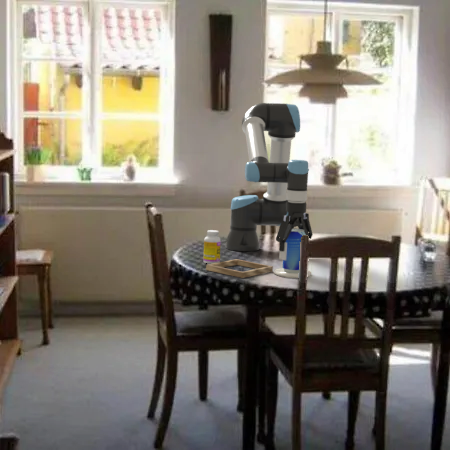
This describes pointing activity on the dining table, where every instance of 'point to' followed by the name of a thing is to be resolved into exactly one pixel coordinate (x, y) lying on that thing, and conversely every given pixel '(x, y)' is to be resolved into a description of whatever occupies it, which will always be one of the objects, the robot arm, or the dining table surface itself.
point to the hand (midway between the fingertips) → (293, 257)
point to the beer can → (293, 251)
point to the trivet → (282, 273)
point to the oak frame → (258, 267)
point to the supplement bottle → (212, 247)
